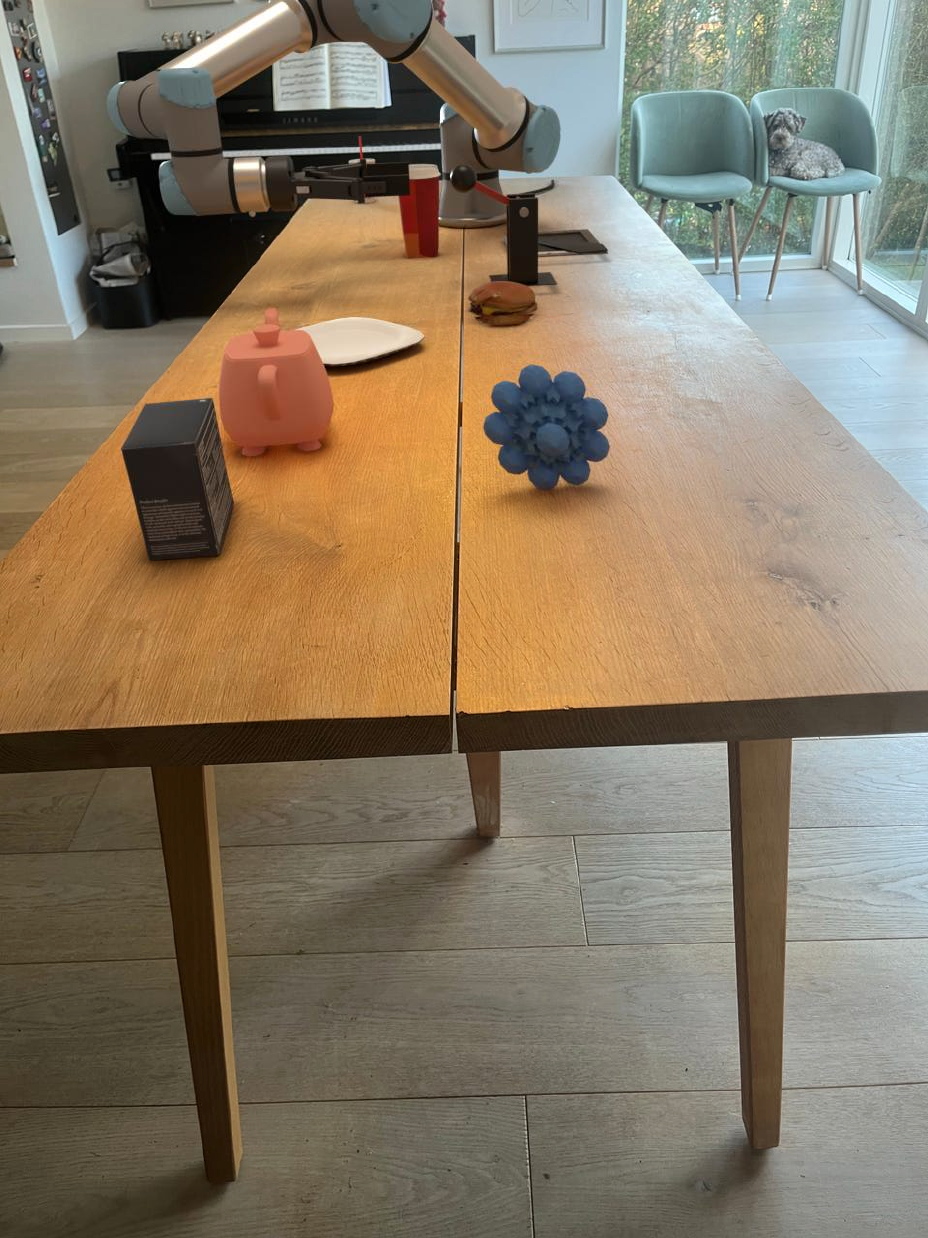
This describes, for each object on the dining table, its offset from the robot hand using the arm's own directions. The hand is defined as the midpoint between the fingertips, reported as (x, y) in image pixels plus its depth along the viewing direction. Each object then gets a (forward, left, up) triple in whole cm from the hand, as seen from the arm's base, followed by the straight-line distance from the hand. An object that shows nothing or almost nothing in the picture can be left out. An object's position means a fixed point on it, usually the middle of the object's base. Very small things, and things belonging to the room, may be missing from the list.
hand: (409, 177), depth 148 cm
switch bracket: (-12, +12, -17) cm, 24 cm away
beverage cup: (-59, -71, -17) cm, 94 cm away
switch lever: (-8, +8, -4) cm, 12 cm away
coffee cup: (-22, -19, -17) cm, 34 cm away
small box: (+73, +40, -17) cm, 85 cm away
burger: (+3, +20, -17) cm, 27 cm away
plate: (+27, +12, -17) cm, 35 cm away
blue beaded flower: (+48, +61, -17) cm, 80 cm away
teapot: (+53, +29, -17) cm, 63 cm away
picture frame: (-37, 0, -17) cm, 41 cm away
